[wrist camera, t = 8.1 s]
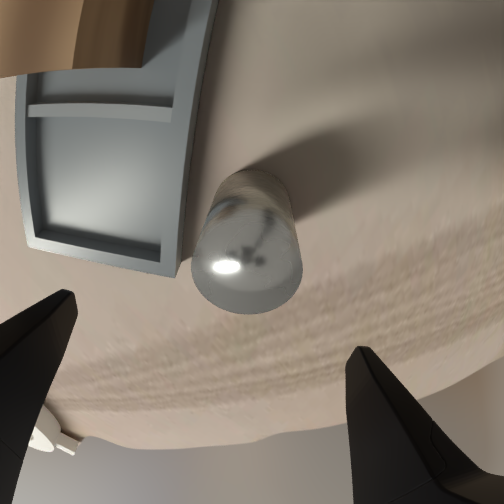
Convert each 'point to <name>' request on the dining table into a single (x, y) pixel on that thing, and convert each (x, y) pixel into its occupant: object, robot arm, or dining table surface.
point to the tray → (115, 148)
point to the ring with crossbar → (50, 434)
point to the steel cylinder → (248, 246)
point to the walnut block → (72, 34)
